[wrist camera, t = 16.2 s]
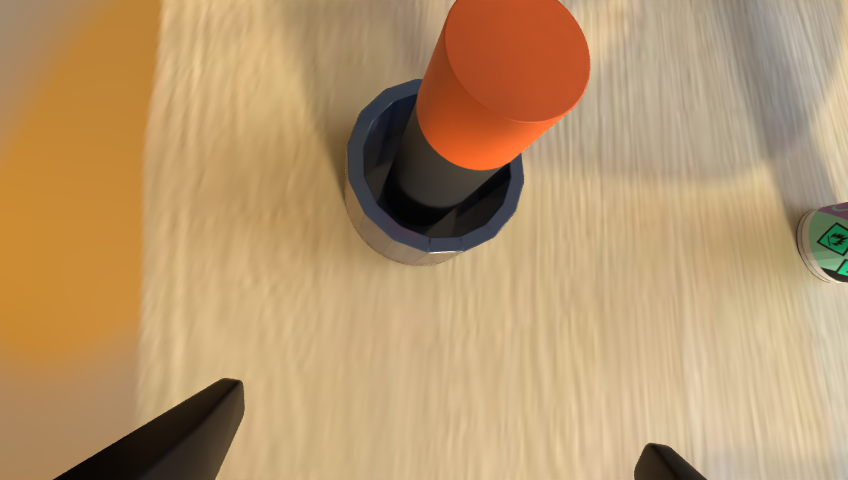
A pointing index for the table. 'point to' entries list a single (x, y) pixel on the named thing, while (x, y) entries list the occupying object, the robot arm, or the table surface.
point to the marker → (485, 100)
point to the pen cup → (372, 213)
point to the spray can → (825, 242)
